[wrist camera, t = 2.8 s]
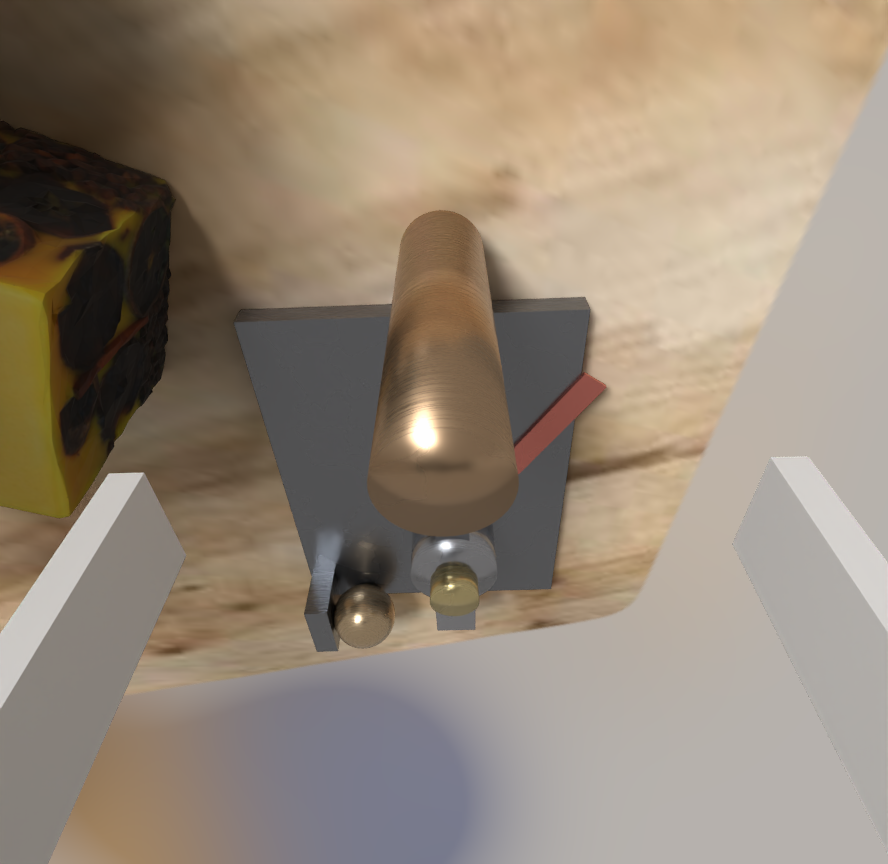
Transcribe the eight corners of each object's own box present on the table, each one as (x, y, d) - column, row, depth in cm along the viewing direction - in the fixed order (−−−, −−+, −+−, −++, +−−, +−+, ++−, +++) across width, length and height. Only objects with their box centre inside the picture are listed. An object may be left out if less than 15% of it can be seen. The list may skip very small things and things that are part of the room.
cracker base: (240, 309, 26) (192, 393, 21) (612, 296, 26) (655, 378, 21) (324, 594, 41) (307, 685, 36) (564, 588, 40) (582, 679, 35)
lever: (378, 212, 22) (323, 432, 12) (501, 207, 22) (556, 425, 12) (419, 593, 38) (412, 827, 28) (491, 591, 38) (510, 825, 28)
